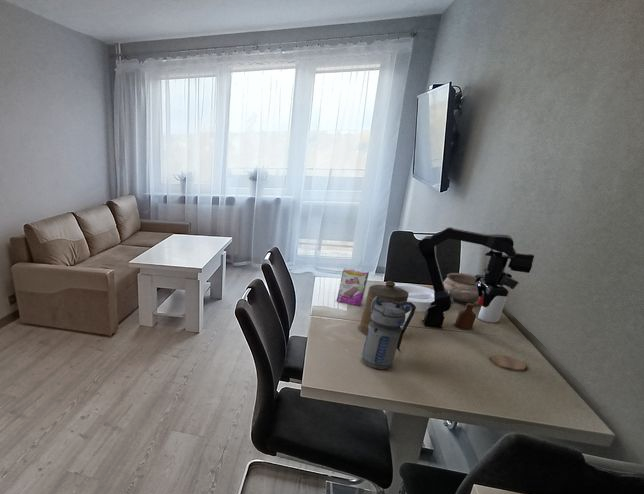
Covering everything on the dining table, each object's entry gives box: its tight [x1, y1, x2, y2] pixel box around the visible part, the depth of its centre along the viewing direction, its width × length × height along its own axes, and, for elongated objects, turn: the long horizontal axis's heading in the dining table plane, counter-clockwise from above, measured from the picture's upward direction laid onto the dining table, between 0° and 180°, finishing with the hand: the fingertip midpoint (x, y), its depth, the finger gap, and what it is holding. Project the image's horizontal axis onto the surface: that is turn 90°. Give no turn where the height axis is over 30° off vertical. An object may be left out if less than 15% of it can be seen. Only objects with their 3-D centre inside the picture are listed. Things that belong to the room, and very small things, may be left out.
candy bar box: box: [336, 267, 370, 307], centre depth 199 cm, size 11×5×16 cm, turn 58°
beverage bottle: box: [361, 296, 416, 370], centre depth 142 cm, size 10×13×25 cm
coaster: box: [490, 354, 527, 372], centre depth 149 cm, size 10×10×1 cm
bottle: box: [454, 303, 477, 331], centre depth 177 cm, size 6×6×10 cm
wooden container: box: [359, 280, 409, 335], centre depth 168 cm, size 15×15×22 cm
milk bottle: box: [477, 285, 508, 324], centre depth 183 cm, size 8×8×20 cm
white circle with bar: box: [383, 282, 434, 313], centre depth 205 cm, size 28×28×5 cm
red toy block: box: [476, 296, 490, 307], centre depth 166 cm, size 4×4×3 cm
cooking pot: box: [443, 272, 479, 305], centre depth 205 cm, size 25×19×12 cm
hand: (483, 305), depth 167 cm, fingers closed on red toy block, 4 cm apart
